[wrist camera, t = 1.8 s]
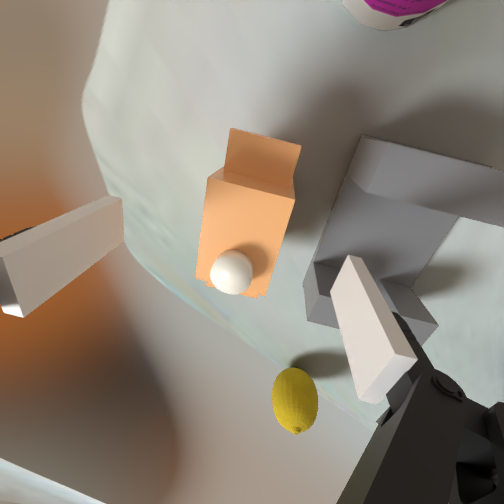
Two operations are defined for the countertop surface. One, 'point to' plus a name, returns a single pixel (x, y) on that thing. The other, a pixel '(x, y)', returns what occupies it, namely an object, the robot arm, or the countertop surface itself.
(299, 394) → the lemon
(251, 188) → the block
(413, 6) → the supplement can
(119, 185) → the countertop surface
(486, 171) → the grey stand
